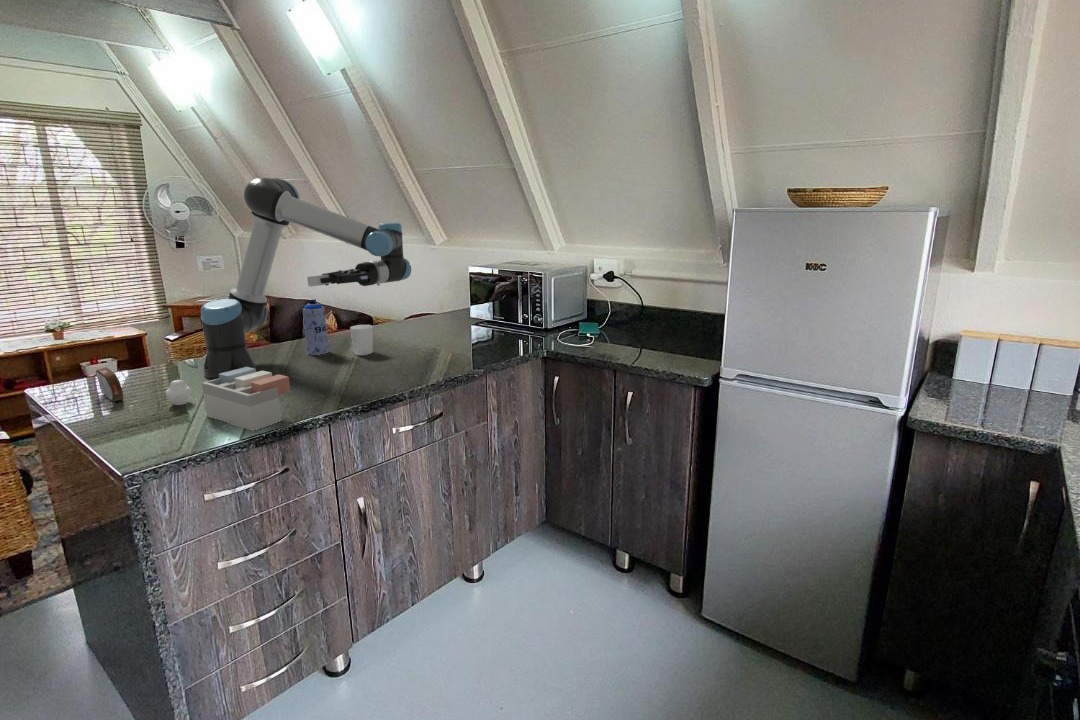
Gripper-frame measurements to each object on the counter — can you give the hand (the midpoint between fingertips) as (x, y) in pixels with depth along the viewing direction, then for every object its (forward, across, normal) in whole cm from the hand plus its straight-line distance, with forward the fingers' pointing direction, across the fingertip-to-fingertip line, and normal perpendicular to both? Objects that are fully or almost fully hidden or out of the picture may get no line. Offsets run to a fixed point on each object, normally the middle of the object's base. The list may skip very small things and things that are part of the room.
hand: (309, 281), depth 171 cm
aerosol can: (-26, +34, -32) cm, 53 cm away
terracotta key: (+25, -14, -25) cm, 38 cm away
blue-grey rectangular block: (+25, 0, -25) cm, 35 cm away
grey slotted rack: (+29, -7, -32) cm, 44 cm away
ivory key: (+25, -7, -25) cm, 36 cm away
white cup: (-34, +19, -32) cm, 51 cm away
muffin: (+31, +20, -32) cm, 49 cm away
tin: (+39, +41, -32) cm, 66 cm away
